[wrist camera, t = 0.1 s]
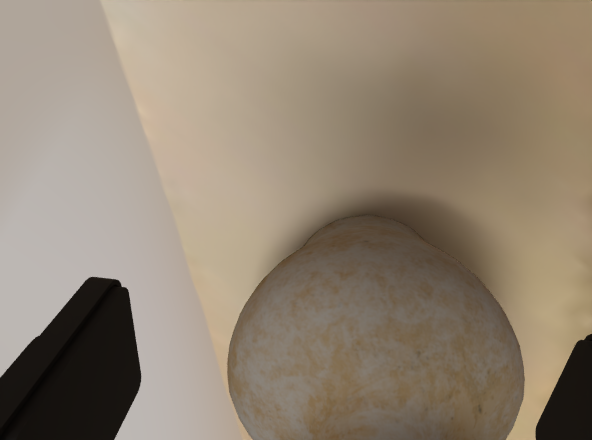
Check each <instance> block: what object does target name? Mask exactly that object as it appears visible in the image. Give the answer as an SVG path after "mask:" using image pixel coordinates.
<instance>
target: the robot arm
mask: <svg viewBox="0 0 592 440" xmlns="http://www.w3.org/2000/svg"><path fill="white" fill-rule="evenodd" d="M135 338H136V337H135V331H134V325H133V318H132V311H131V304H130V298H129V292H128V289H127V288H125V287H122V286H121V283H120V282H119V280H116V279H106V278H98V277H90V278H88V279H87V280H86V281H85V282H84V284H83V285H82V286H81V287H80V288H79V289H78V291H77V292H76V293H75V294H74V295H73V297H72V298H71V299H70V300H69V301H68V303H67V304H66V305H65V306H64V307H63V309H62V310H61V311H60V312H59V313H58V314H57V316H56V317H55V318H54V319H53V320H52V322H51V323H50V324H49V325H48V326H47V328H46V329H45V330H44V331H43V332H42V333H41V335H40V336H38V337H36V338H35V339H34V340H33V341H32V342H31V343H30V344H29V345H28V346H27V347H26V348H25V349H24V351H23V352H22V353H21V354H20V356H19V357H18V358H17V359H16V360H15V361H14V362H13V364H12V365H11V366H10V367H9V368H8V369H7V371H6V372H5V373H4V374H3V375H2V376H1V378H0V440H114V439H115V437H116V435H117V433H118V431H119V429H120V427H121V425H122V423H123V421H124V419H125V417H126V415H127V413H128V411H129V409H130V407H131V405H132V403H133V401H134V399H135V397H136V395H137V393H138V390H139V387H140V383H141V371H140V364H139V357H138V351H137V344H136V339H135ZM536 440H592V334H590V335H588V336H587V337H586V338H585V339H584V340H579V341H578V342H577V343H576V345H575V347H574V349H573V351H572V353H571V355H570V357H569V359H568V361H567V363H566V365H565V368H564V370H563V372H562V374H561V376H560V378H559V380H558V382H557V384H556V386H555V388H554V390H553V392H552V395H551V397H550V399H549V401H548V403H547V405H546V407H545V409H544V411H543V413H542V415H541V417H540V419H539V422H538V424H537V426H536Z"/></svg>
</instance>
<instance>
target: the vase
mask: <svg viewBox="0 0 592 440" xmlns="http://www.w3.org/2000/svg"><path fill="white" fill-rule="evenodd" d="M524 381H525V378H524V367H523V361H522V356H521V350H520V345H519V343H518V340H517V338H516V336H515V333H514V331H513V329H512V327H511V325H510V322H509V320H508V318H507V316H506V314H505V312H504V311H503V309H502V308H501V306H500V305H499V303H498V302H497V301H496V299H495V298H494V297H493V295H492V294H491V293H490V292H489V290H488V289H487V288H486V287H485V285H484V284H483V283H482V282H481V281H480V280H479V279H478V278H477V277H476V276H475V275H474V274H473V273H471V272H470V271H469V270H468V269H467V268H465V267H464V266H463V265H462V264H461V263H459V262H458V261H457V260H456V259H454V258H453V257H451V256H450V255H448V254H446V253H444V252H443V251H441V250H439V249H438V248H436V247H434V246H432V245H430V244H428V243H426V242H425V241H424V240H423V239H422V237H421V236H419V235H418V234H417V233H416V232H415V231H414V230H412V229H411V228H409V227H407V226H406V225H404V224H402V223H400V222H397V221H395V220H392V219H389V218H384V217H379V216H366V215H362V216H356V217H349V218H345V219H341V220H337V221H335V222H333V223H331V224H328V225H326V226H325V227H323V228H322V229H320V230H319V231H317V232H316V233H315V234H314V235H313V236H312V237H311V238H310V239H309V240H308V242H307V243H306V244H305V246H304V247H302V248H301V249H299V250H298V251H296V252H295V253H293V254H292V255H290V256H289V257H287V258H286V259H284V260H283V261H282V262H281V263H279V264H278V265H277V266H276V267H275V268H274V269H273V270H272V271H271V272H270V273H269V274H268V275H267V276H266V277H265V278H264V279H263V280H262V281H261V282H260V284H259V285H258V286H257V288H256V289H255V291H254V292H253V293H252V295H251V296H250V298H249V299H248V301H247V302H246V304H245V306H244V308H243V310H242V312H241V313H240V316H239V318H238V321H237V324H236V326H235V329H234V331H233V335H232V338H231V342H230V347H229V354H228V384H229V392H230V395H231V398H232V401H233V404H234V406H235V409H236V412H237V414H238V416H239V419H240V421H241V422H242V424H243V426H244V427H245V429H246V431H247V432H248V434H249V435H250V436H251V438H252V439H253V440H505V439H506V438H507V436H508V435H509V433H510V431H511V430H512V428H513V426H514V423H515V421H516V418H517V415H518V412H519V409H520V406H521V404H522V401H523V395H524Z"/></svg>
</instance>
